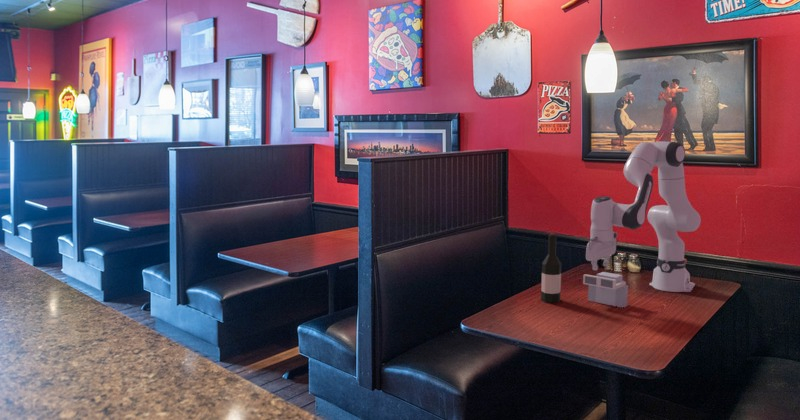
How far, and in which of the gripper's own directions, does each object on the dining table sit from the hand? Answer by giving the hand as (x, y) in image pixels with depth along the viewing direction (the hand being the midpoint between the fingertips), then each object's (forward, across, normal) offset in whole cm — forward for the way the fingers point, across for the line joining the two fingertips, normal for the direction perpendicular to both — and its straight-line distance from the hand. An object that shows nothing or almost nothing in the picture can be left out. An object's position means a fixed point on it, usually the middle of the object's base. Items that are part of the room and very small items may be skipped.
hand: (600, 267), depth 256 cm
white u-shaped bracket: (+8, +4, 0) cm, 9 cm away
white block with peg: (+17, +5, 0) cm, 18 cm away
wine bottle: (+17, -6, +20) cm, 27 cm away
